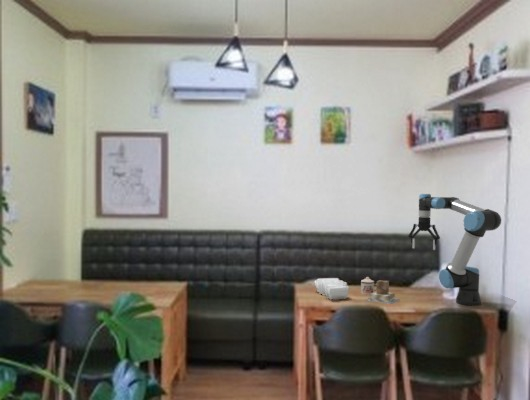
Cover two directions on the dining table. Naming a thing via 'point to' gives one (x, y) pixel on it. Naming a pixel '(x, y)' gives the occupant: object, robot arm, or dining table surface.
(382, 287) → the walnut block
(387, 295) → the riser block
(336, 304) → the dining table surface
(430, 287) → the dining table surface
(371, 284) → the teacup with lid
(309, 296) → the dining table surface
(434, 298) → the dining table surface
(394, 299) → the plan mat
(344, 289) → the white wavy slab sculpture
